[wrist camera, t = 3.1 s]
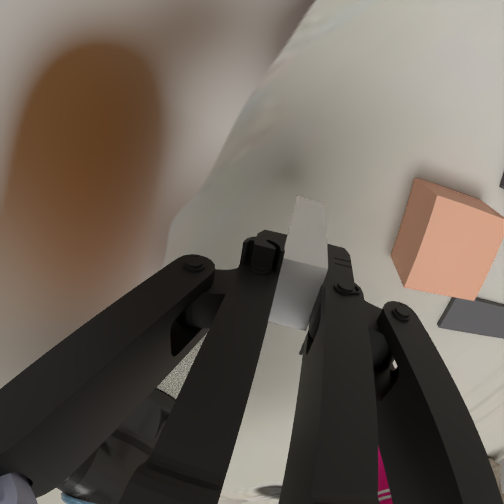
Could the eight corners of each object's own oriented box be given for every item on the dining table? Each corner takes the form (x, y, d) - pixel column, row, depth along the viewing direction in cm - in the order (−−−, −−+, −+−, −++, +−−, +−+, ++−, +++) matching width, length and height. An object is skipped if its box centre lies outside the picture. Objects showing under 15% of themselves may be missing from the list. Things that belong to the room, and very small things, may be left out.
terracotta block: (390, 255, 23) (403, 287, 19) (413, 177, 20) (437, 195, 16) (453, 269, 23) (474, 301, 18) (479, 199, 19) (509, 221, 15)
